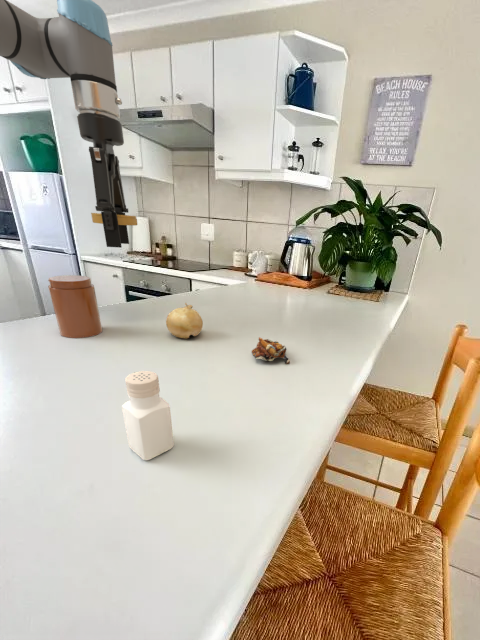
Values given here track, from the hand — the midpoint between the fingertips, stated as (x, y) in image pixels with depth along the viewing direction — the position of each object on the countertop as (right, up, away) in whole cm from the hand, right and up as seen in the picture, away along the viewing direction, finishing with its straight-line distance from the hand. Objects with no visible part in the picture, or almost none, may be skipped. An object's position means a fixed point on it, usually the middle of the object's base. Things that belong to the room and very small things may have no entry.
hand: (118, 245), depth 72 cm
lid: (0, +5, -3) cm, 6 cm away
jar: (-8, -20, -1) cm, 21 cm away
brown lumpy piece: (+34, -25, -3) cm, 42 cm away
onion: (+14, -20, +3) cm, 25 cm away
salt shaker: (+22, -39, -33) cm, 55 cm away
